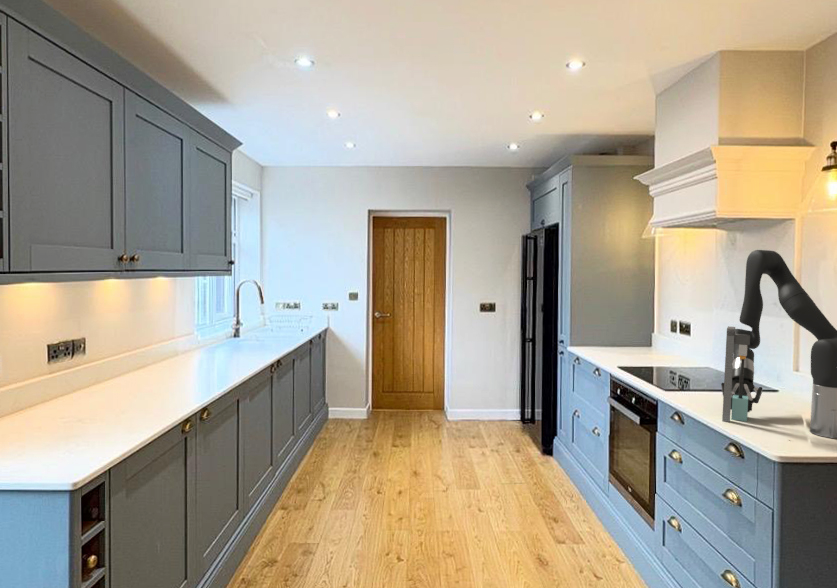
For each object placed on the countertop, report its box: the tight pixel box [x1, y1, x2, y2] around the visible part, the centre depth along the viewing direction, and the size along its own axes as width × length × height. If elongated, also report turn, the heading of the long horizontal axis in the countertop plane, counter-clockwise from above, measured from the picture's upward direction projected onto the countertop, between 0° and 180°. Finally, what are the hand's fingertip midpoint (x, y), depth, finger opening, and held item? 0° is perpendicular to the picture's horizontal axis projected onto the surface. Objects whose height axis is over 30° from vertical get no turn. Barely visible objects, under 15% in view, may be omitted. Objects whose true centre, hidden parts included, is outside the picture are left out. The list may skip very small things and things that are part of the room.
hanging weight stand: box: [721, 326, 750, 423], centre depth 206 cm, size 8×7×35 cm
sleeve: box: [730, 395, 749, 422], centre depth 209 cm, size 7×5×8 cm
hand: (739, 409), depth 209 cm, fingers closed on sleeve, 5 cm apart
